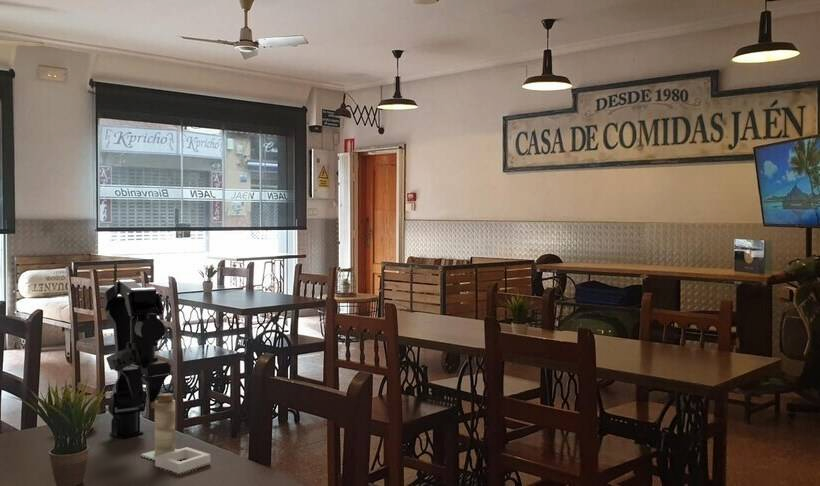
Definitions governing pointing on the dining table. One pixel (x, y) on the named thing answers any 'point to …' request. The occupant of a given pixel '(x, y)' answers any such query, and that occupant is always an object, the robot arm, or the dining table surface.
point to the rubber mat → (150, 455)
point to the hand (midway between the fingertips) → (142, 399)
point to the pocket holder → (171, 458)
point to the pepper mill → (164, 424)
